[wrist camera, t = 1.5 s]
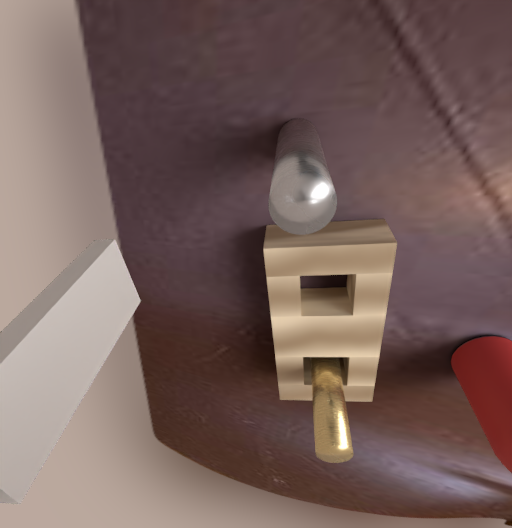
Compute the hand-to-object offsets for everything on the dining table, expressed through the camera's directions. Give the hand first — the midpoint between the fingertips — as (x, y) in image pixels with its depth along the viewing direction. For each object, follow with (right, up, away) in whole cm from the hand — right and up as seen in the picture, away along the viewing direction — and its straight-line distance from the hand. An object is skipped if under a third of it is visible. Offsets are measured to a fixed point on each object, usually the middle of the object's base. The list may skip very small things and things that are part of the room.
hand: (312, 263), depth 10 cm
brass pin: (+6, -9, +25) cm, 28 cm away
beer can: (+23, -10, +24) cm, 35 cm away
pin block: (+5, -5, +23) cm, 24 cm away
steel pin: (+1, +9, +14) cm, 17 cm away
